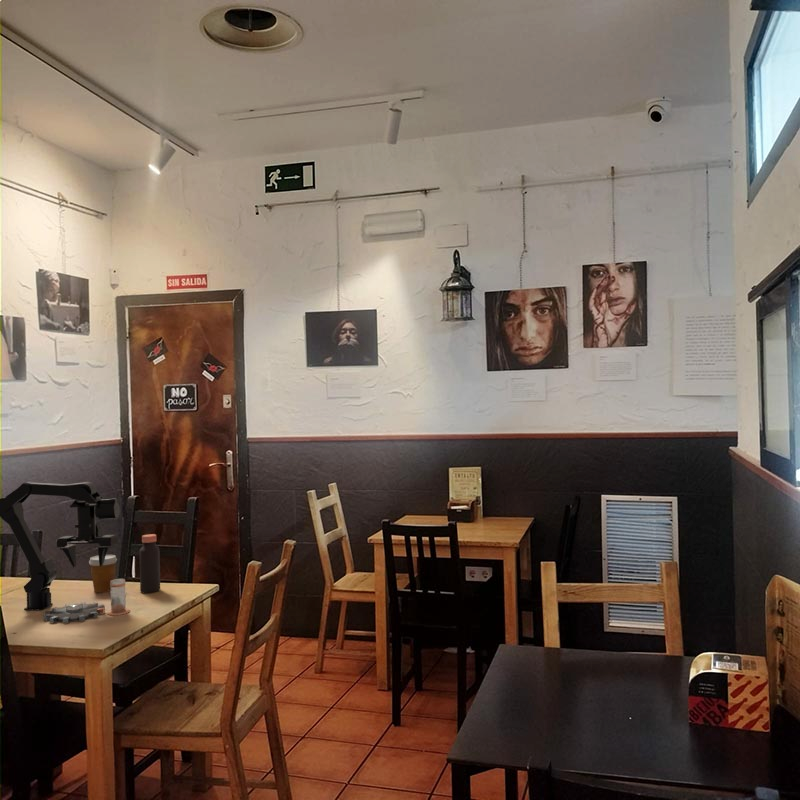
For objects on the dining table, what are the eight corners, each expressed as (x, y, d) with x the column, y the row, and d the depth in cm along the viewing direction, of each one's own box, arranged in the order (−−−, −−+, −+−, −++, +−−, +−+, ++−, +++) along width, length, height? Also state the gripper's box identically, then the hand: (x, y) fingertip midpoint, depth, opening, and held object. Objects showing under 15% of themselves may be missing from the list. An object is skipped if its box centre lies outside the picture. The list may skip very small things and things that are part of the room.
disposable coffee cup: (111, 593, 257) (110, 559, 257) (84, 594, 257) (84, 560, 257) (121, 586, 267) (121, 554, 267) (95, 587, 267) (95, 554, 267)
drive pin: (110, 614, 230) (109, 582, 230) (111, 610, 235) (110, 579, 235) (125, 612, 232) (125, 581, 232) (126, 608, 236) (125, 578, 236)
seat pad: (103, 615, 230) (103, 614, 230) (112, 609, 237) (112, 608, 237) (124, 615, 230) (124, 614, 230) (133, 609, 237) (133, 608, 237)
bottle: (139, 594, 255) (138, 537, 255) (140, 589, 262) (139, 534, 262) (159, 592, 257) (158, 536, 257) (160, 587, 264) (159, 533, 264)
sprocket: (30, 622, 224) (30, 612, 224) (67, 606, 242) (67, 597, 242) (82, 624, 221) (82, 614, 221) (116, 607, 239) (116, 598, 239)
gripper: (123, 515, 249) (125, 560, 249) (71, 516, 250) (72, 561, 250) (109, 520, 238) (110, 568, 238) (54, 522, 239) (55, 569, 239)
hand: (87, 566), depth 242 cm, fingers open, 9 cm apart
